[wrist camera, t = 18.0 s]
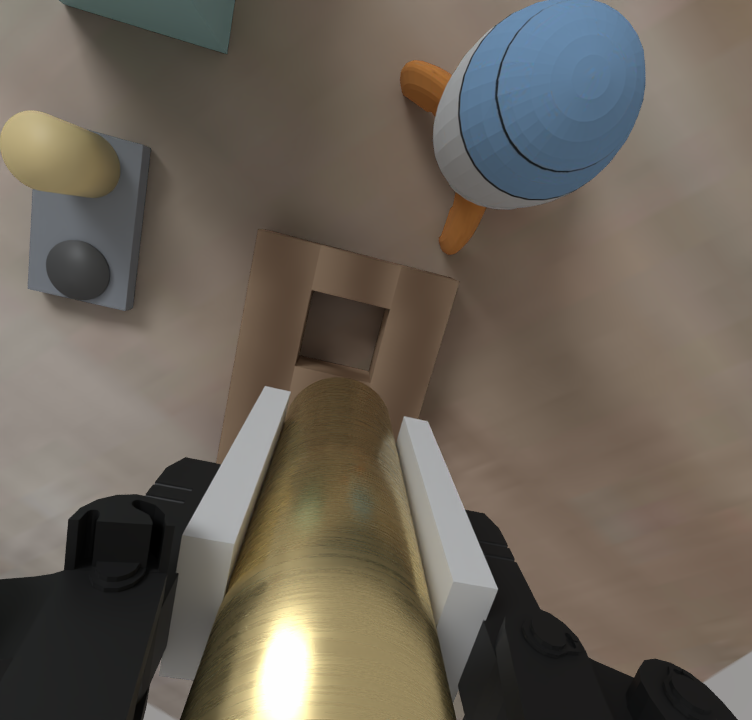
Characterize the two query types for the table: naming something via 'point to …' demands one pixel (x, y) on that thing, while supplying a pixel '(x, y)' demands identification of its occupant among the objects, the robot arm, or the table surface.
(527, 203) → the toy rocket
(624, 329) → the table surface
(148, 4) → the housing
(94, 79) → the table surface
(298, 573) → the peg
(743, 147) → the table surface
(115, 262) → the grey base with knobs
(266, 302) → the board
